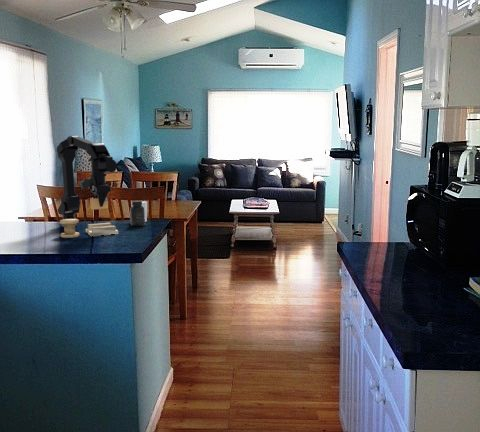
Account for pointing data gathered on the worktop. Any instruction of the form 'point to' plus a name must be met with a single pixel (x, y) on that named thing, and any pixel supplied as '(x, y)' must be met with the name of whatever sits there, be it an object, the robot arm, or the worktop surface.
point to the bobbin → (69, 228)
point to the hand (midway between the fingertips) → (100, 206)
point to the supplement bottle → (137, 214)
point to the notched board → (101, 229)
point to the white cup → (144, 204)
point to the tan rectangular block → (95, 204)
